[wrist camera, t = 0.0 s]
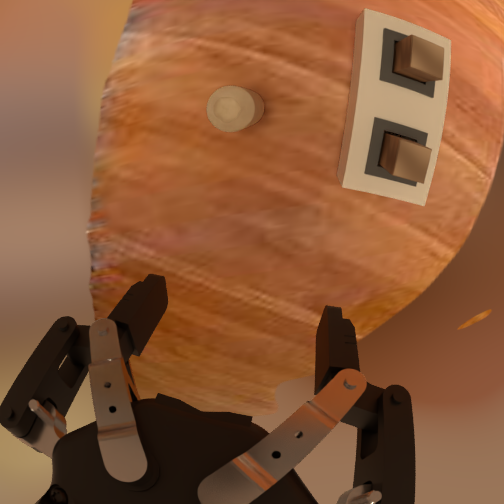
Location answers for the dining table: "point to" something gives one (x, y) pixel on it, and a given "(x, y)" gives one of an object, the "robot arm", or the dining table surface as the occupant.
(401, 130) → the socket board
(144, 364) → the dining table surface
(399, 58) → the peg
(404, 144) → the peg
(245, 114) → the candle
